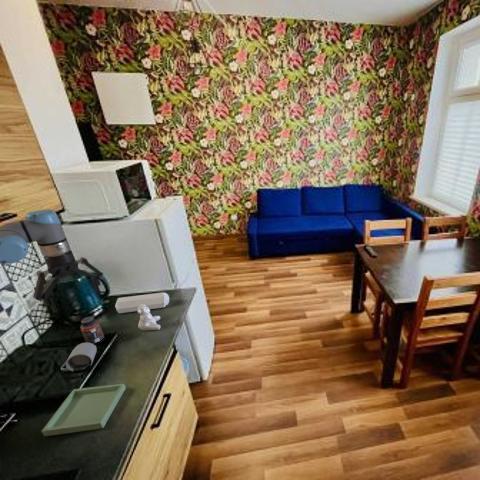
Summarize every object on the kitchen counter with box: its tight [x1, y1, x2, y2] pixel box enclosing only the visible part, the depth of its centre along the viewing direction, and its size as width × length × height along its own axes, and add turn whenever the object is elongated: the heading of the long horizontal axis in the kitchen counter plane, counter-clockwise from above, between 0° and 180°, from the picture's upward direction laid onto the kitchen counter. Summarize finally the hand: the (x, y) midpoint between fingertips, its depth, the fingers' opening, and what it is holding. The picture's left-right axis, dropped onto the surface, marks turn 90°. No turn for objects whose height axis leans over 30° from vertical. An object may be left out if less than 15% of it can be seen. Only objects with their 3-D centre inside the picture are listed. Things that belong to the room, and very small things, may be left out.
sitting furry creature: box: [136, 304, 162, 332], centre depth 119 cm, size 10×9×12 cm
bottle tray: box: [41, 383, 127, 437], centre depth 85 cm, size 16×14×2 cm
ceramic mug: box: [60, 341, 98, 372], centre depth 100 cm, size 11×8×8 cm
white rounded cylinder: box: [114, 292, 170, 314], centre depth 133 cm, size 7×7×24 cm
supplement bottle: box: [79, 316, 105, 345], centre depth 111 cm, size 6×6×11 cm
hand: (78, 301), depth 104 cm, fingers open, 13 cm apart
